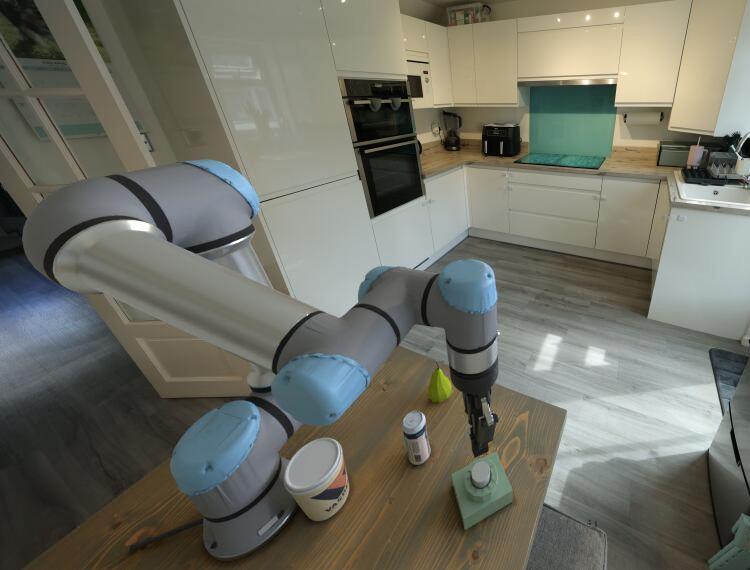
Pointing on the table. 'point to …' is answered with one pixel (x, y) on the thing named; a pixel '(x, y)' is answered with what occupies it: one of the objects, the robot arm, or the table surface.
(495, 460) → the grey button cap base
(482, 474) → the grey button cap
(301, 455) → the ice cream tub
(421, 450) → the beer can
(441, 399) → the fruit
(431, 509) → the table surface
